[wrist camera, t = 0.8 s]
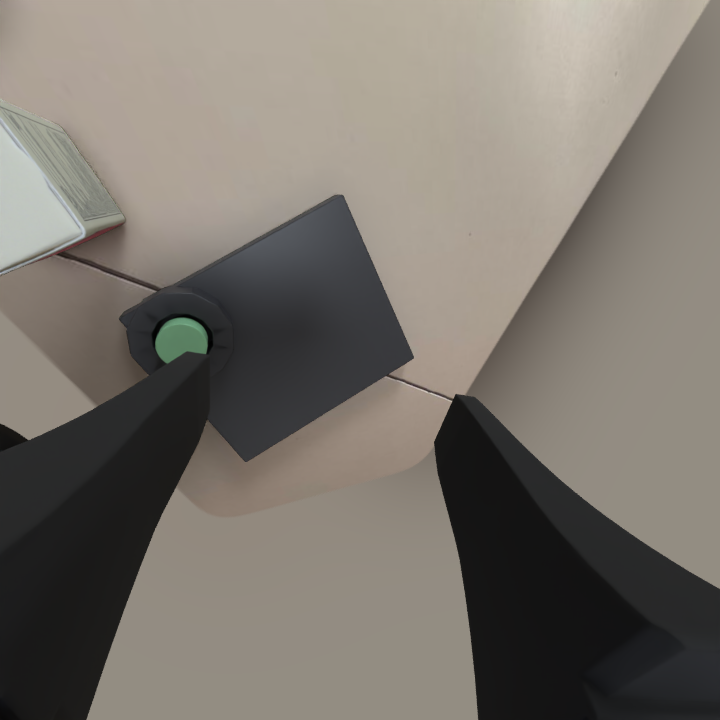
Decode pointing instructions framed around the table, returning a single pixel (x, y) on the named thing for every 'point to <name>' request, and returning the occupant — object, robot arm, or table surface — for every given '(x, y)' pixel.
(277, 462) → the table surface
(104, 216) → the small box
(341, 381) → the scale
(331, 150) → the table surface
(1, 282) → the table surface
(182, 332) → the button
